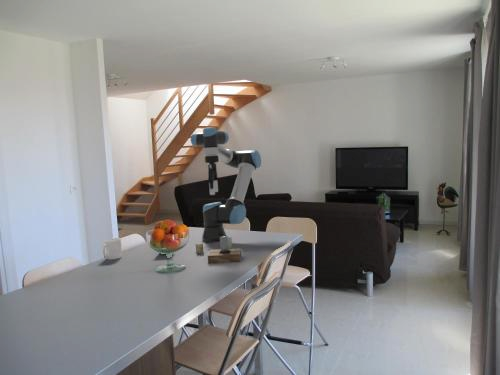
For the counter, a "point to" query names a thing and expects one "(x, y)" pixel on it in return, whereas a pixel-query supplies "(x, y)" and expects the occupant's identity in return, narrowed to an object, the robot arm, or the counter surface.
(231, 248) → the medium pin
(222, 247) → the long pin
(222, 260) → the hole board
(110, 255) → the cup
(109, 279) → the counter surface
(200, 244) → the short pin
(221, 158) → the robot arm
